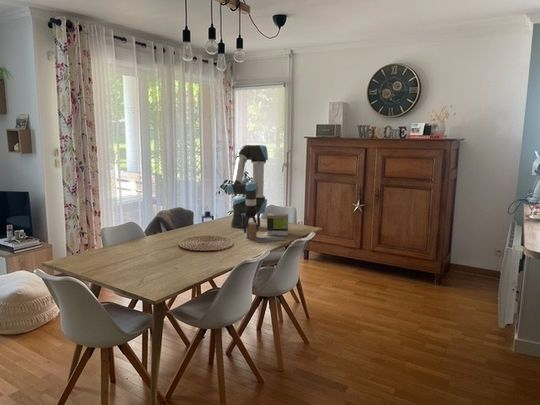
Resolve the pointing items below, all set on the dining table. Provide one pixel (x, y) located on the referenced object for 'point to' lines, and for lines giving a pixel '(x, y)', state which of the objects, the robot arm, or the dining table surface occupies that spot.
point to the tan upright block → (251, 230)
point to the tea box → (277, 224)
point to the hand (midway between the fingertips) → (250, 236)
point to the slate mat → (269, 239)
